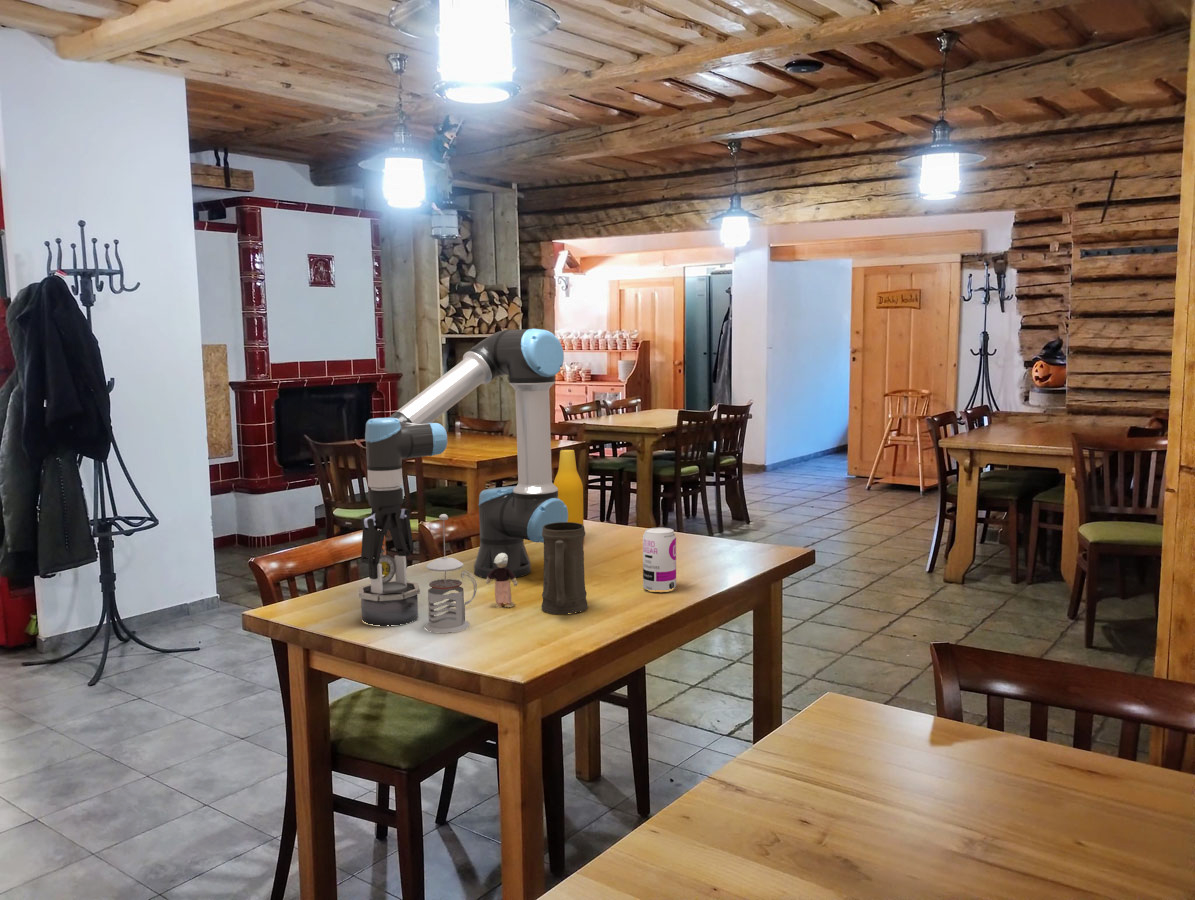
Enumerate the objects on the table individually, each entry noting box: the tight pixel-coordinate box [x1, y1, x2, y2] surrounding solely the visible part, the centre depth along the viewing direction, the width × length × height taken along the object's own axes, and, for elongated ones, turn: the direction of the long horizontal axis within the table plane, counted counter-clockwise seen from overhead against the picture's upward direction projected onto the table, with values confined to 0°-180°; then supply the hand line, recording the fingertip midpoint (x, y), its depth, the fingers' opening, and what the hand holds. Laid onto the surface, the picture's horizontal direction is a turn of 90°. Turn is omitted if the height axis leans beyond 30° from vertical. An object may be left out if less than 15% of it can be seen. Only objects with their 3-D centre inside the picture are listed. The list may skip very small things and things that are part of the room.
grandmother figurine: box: [485, 553, 519, 608], centre depth 224 cm, size 8×4×13 cm, turn 91°
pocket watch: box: [378, 543, 407, 593], centre depth 214 cm, size 8×8×10 cm
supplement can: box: [642, 527, 677, 591], centre depth 236 cm, size 8×8×15 cm
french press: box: [424, 513, 478, 634], centre depth 208 cm, size 10×12×25 cm
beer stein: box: [541, 522, 589, 615], centre depth 218 cm, size 15×11×20 cm
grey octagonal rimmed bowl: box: [358, 580, 421, 627], centre depth 215 cm, size 13×13×7 cm
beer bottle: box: [552, 449, 585, 545], centre depth 287 cm, size 9×9×29 cm
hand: (389, 587), depth 215 cm, fingers closed on pocket watch, 7 cm apart
